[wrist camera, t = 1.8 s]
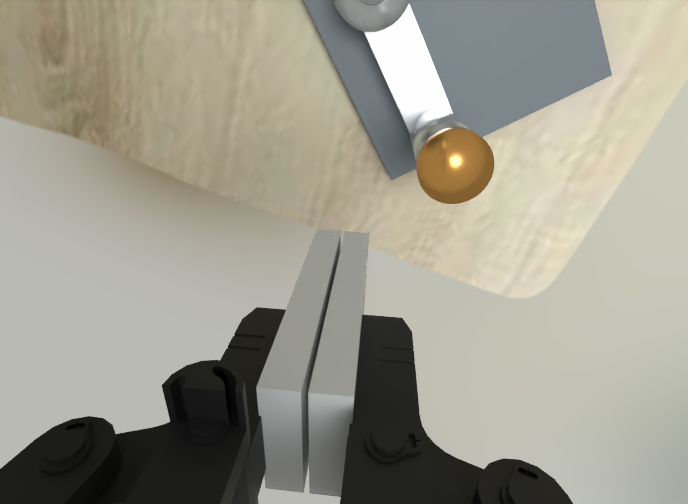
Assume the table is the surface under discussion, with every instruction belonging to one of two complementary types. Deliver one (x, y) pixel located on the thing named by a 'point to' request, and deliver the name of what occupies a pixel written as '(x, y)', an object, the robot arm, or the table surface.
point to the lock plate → (472, 63)
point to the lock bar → (422, 102)
